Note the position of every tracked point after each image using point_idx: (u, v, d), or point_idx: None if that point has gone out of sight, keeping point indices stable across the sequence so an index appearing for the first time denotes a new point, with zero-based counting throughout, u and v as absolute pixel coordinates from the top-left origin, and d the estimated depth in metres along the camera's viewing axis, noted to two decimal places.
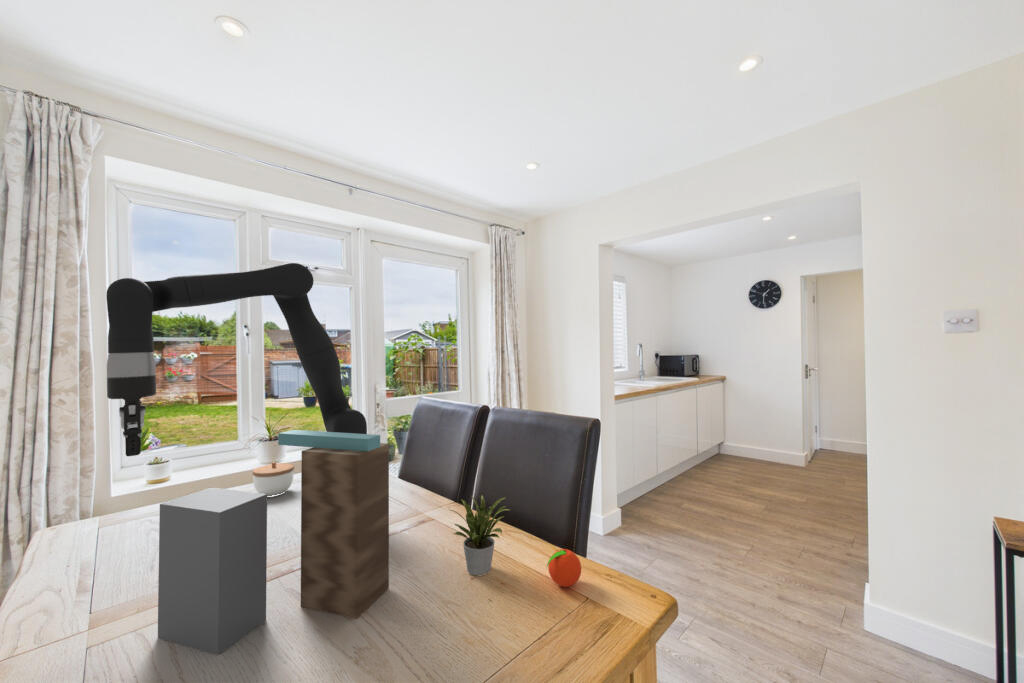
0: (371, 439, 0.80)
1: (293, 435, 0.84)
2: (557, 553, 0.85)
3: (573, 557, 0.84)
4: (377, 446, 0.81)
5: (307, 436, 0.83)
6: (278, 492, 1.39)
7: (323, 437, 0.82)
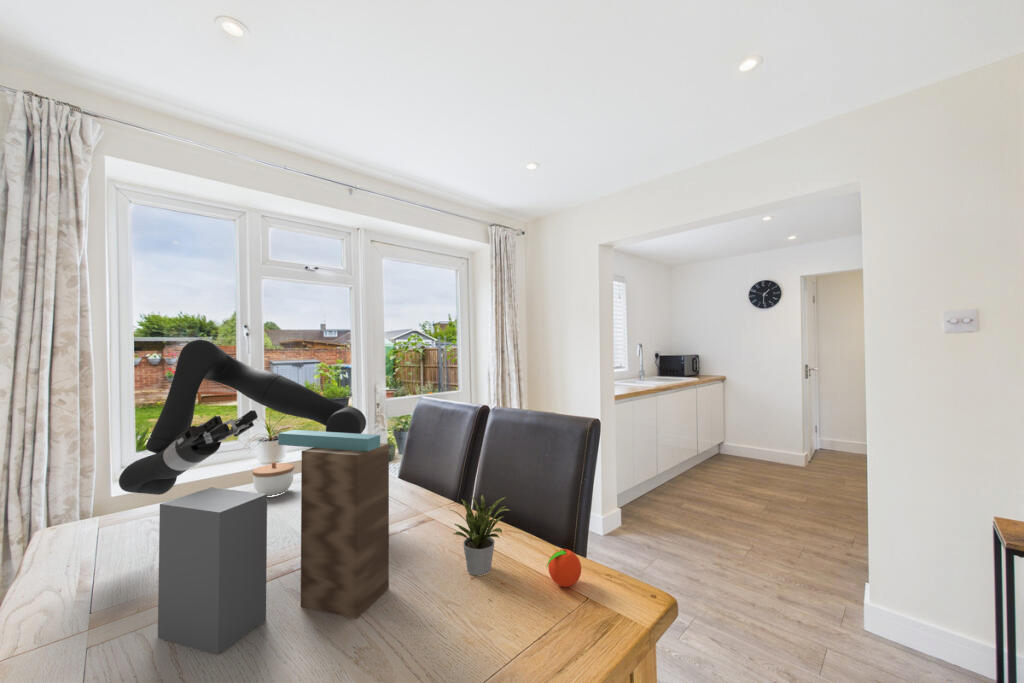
0: (371, 439, 0.80)
1: (293, 435, 0.84)
2: (557, 553, 0.85)
3: (573, 557, 0.84)
4: (377, 446, 0.81)
5: (307, 436, 0.83)
6: (278, 492, 1.39)
7: (323, 437, 0.82)
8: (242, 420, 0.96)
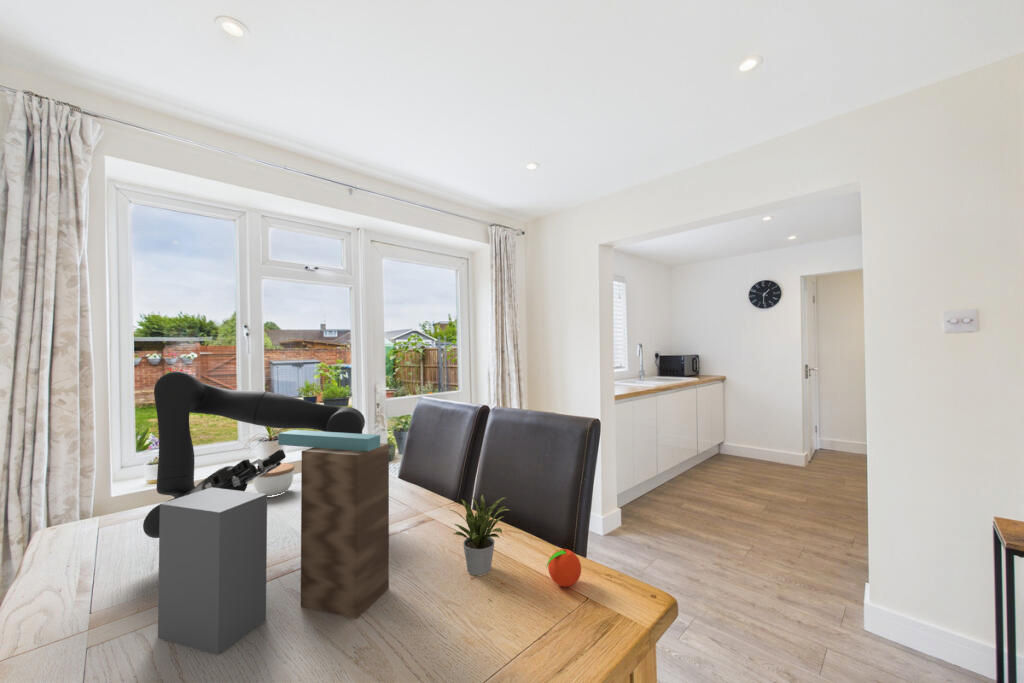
0: (371, 439, 0.80)
1: (293, 435, 0.84)
2: (557, 553, 0.85)
3: (573, 557, 0.84)
4: (377, 446, 0.81)
5: (307, 436, 0.83)
6: (278, 492, 1.39)
7: (323, 437, 0.82)
8: (269, 460, 0.93)
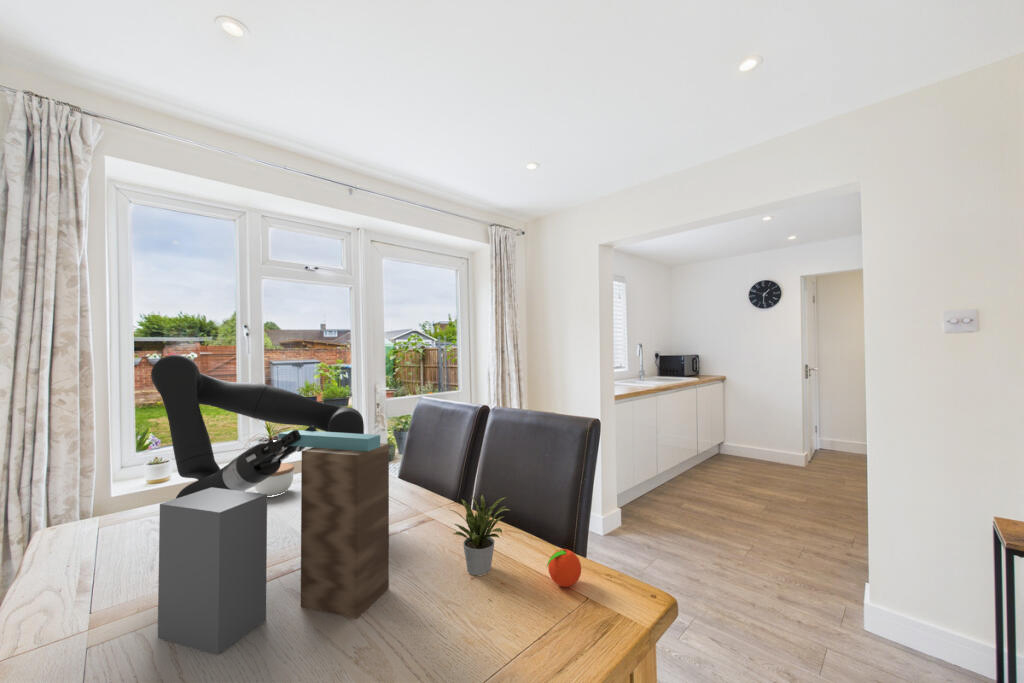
0: (371, 439, 0.80)
1: None
2: (557, 553, 0.85)
3: (573, 557, 0.84)
4: (377, 446, 0.81)
5: (307, 436, 0.83)
6: (278, 492, 1.39)
7: (323, 437, 0.82)
8: None
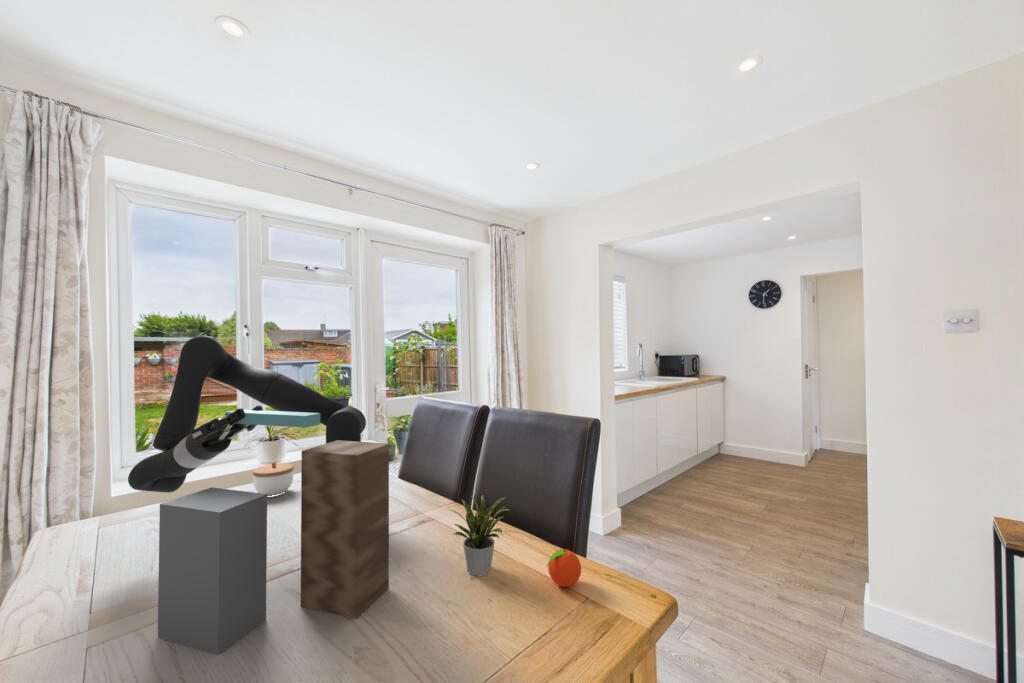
0: (309, 416, 0.84)
1: None
2: (557, 553, 0.85)
3: (573, 557, 0.84)
4: (316, 423, 0.86)
5: (251, 414, 0.87)
6: (278, 492, 1.39)
7: (265, 415, 0.86)
8: None
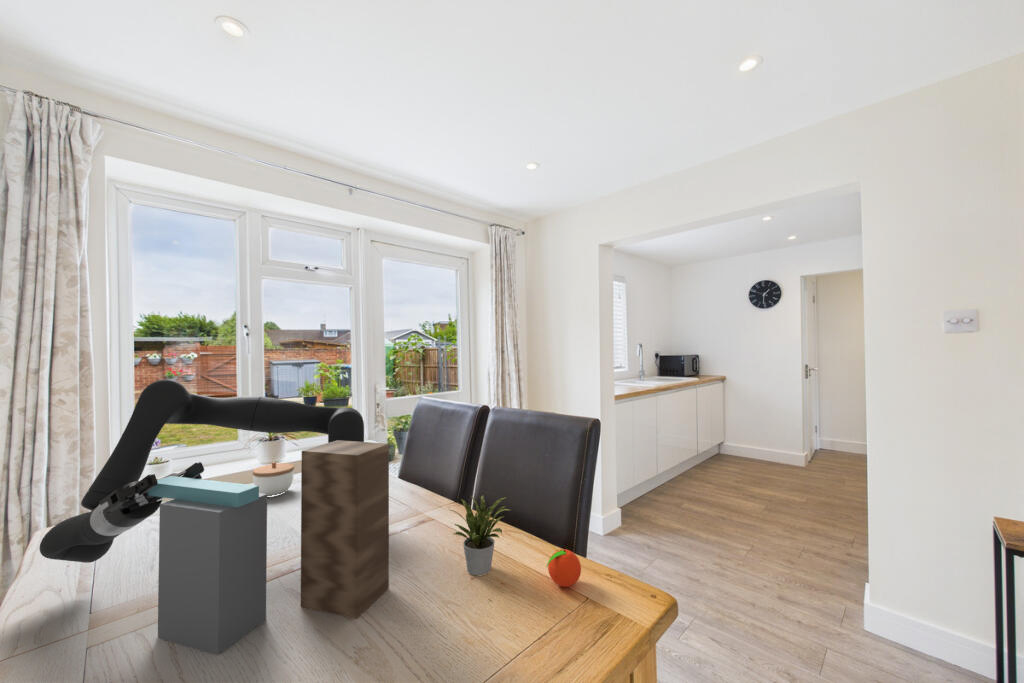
0: (244, 492, 0.70)
1: (163, 485, 0.74)
2: (557, 553, 0.85)
3: (573, 557, 0.84)
4: (254, 499, 0.72)
5: (177, 487, 0.73)
6: (278, 492, 1.39)
7: (193, 489, 0.72)
8: (186, 474, 0.80)
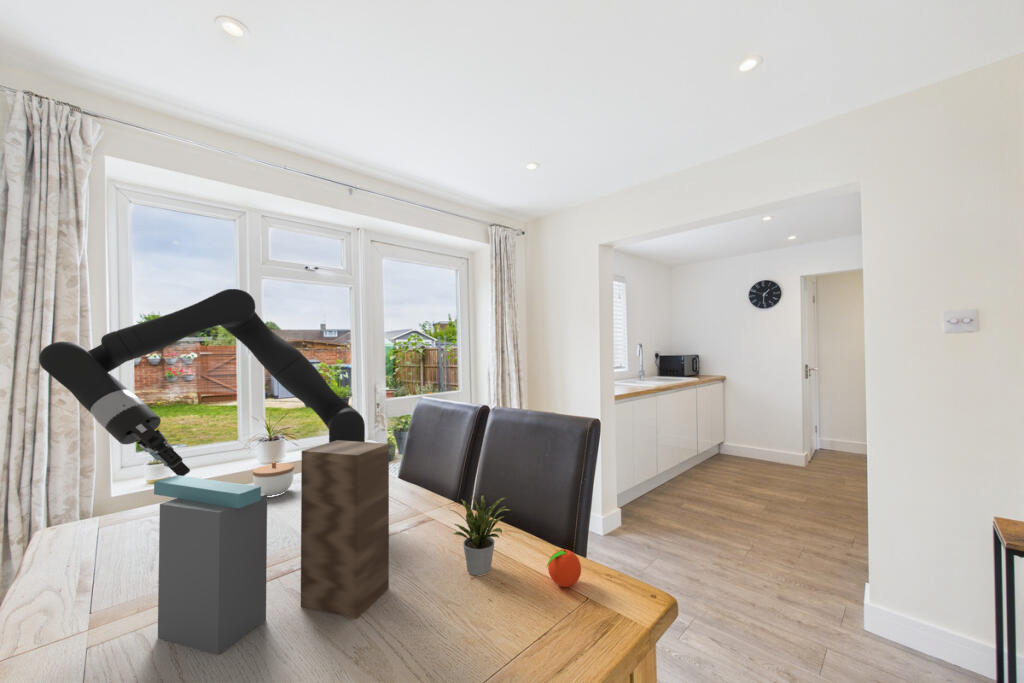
0: (245, 493, 0.69)
1: (168, 484, 0.74)
2: (557, 553, 0.85)
3: (573, 557, 0.84)
4: (255, 500, 0.71)
5: (181, 486, 0.73)
6: (278, 492, 1.39)
7: (196, 489, 0.72)
8: None
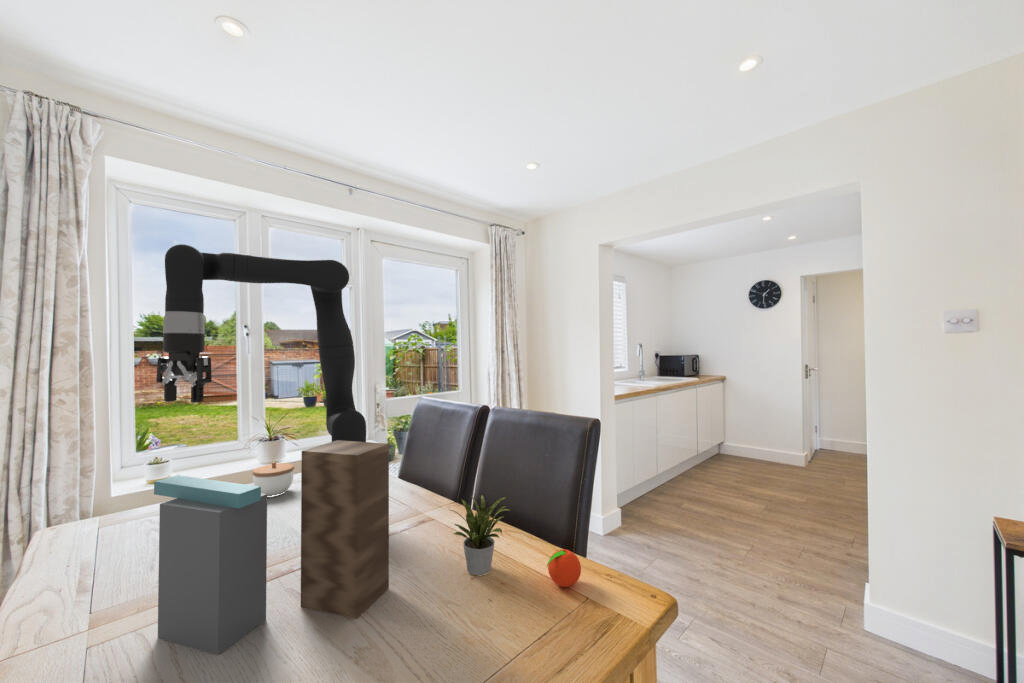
0: (245, 493, 0.69)
1: (168, 484, 0.74)
2: (557, 553, 0.85)
3: (573, 557, 0.84)
4: (255, 500, 0.71)
5: (181, 486, 0.73)
6: (278, 492, 1.39)
7: (196, 489, 0.72)
8: (172, 384, 0.96)
